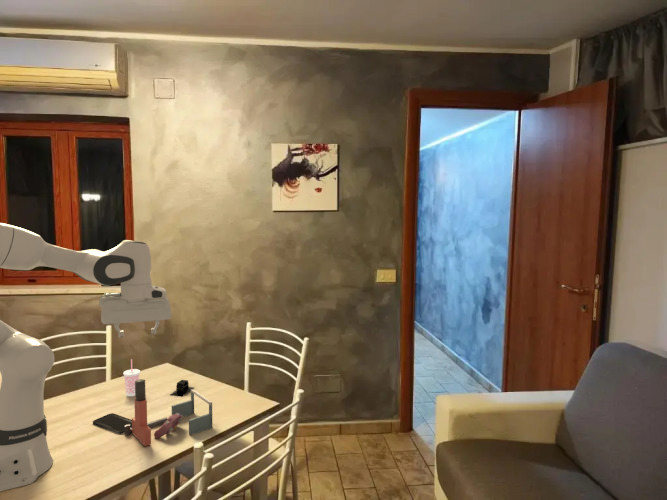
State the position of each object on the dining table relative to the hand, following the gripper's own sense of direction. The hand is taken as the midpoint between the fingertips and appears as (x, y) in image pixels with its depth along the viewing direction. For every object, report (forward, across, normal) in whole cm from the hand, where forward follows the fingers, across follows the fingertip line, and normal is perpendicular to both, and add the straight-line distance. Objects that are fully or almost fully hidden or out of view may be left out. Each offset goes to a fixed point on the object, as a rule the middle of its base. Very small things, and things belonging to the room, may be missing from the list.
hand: (137, 335), depth 144 cm
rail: (+34, +2, +7) cm, 35 cm away
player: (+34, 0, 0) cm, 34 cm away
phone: (+35, -8, +14) cm, 38 cm away
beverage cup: (+34, -3, +39) cm, 52 cm away
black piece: (+35, +15, +35) cm, 51 cm away
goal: (+34, +16, +6) cm, 38 cm away
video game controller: (+34, +9, +2) cm, 36 cm away
